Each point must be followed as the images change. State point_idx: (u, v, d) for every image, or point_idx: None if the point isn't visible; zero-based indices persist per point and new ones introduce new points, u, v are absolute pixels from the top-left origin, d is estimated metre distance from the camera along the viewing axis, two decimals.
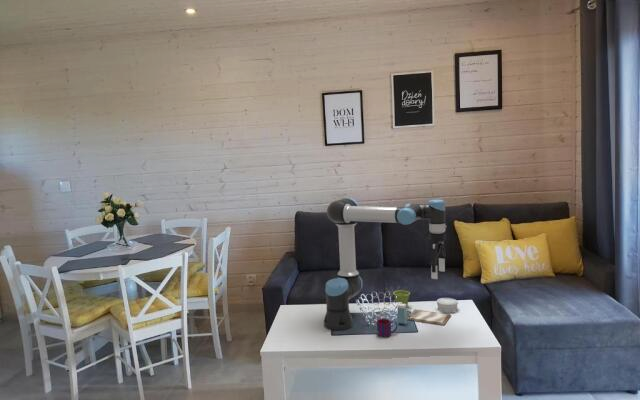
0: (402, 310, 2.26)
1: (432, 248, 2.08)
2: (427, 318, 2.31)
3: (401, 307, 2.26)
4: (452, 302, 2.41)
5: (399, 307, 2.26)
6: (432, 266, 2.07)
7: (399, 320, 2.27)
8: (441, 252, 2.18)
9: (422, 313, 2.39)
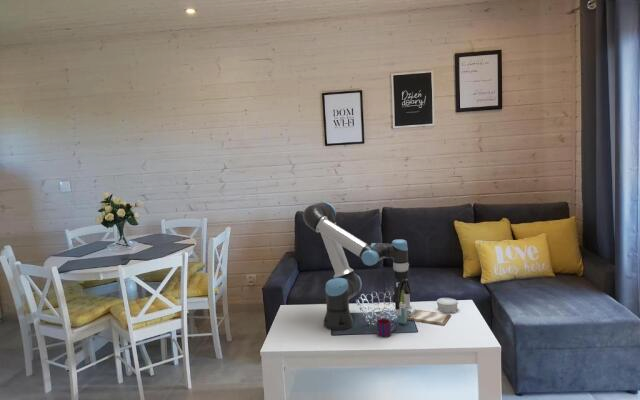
0: (402, 310, 2.26)
1: (395, 286, 2.20)
2: (427, 318, 2.31)
3: (401, 307, 2.26)
4: (452, 302, 2.41)
5: None
6: (396, 303, 2.20)
7: (399, 320, 2.27)
8: (406, 288, 2.30)
9: (422, 313, 2.39)
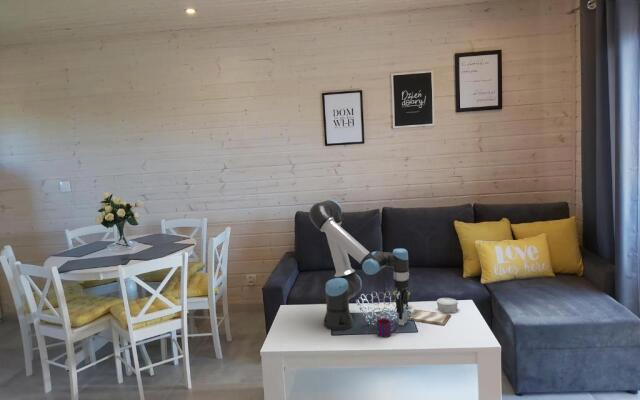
0: None
1: (396, 298, 2.22)
2: (427, 318, 2.31)
3: None
4: (452, 302, 2.41)
5: None
6: (399, 313, 2.25)
7: None
8: (404, 301, 2.28)
9: (422, 313, 2.39)
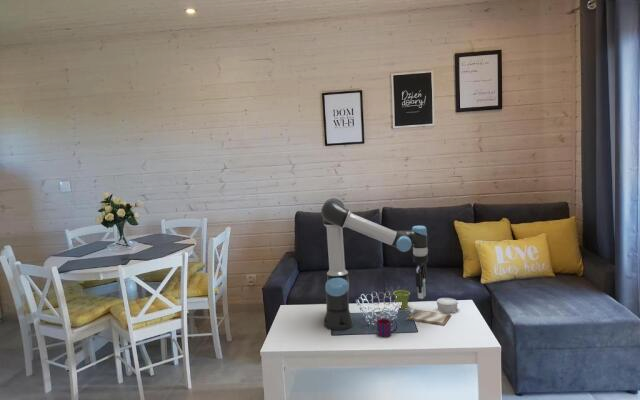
0: None
1: (416, 273, 2.33)
2: (427, 318, 2.31)
3: None
4: (452, 302, 2.41)
5: None
6: (418, 287, 2.36)
7: None
8: (423, 275, 2.39)
9: (422, 313, 2.39)
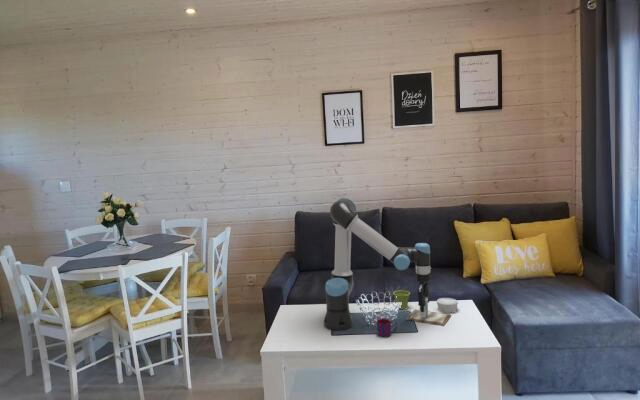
0: None
1: (419, 291, 2.27)
2: (427, 318, 2.31)
3: None
4: (452, 302, 2.41)
5: None
6: (421, 306, 2.30)
7: None
8: (425, 294, 2.34)
9: None
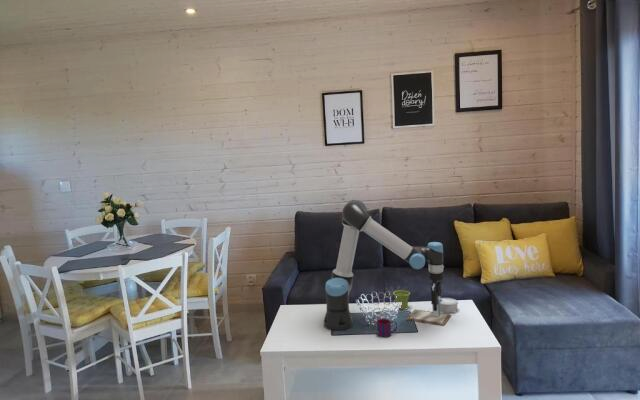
0: None
1: (432, 290, 2.28)
2: (427, 318, 2.31)
3: None
4: (452, 302, 2.41)
5: None
6: (434, 305, 2.31)
7: None
8: (438, 293, 2.35)
9: (422, 313, 2.39)
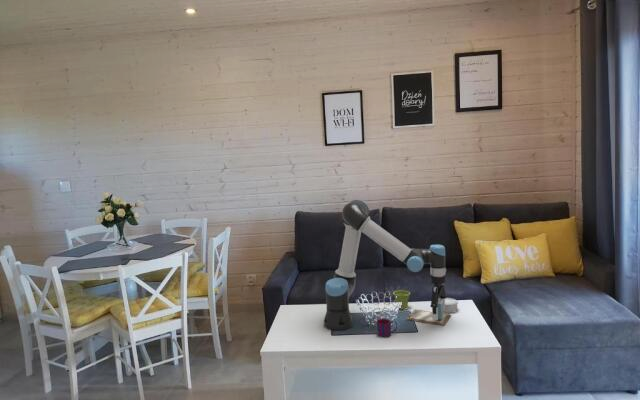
0: (439, 306, 2.27)
1: (433, 291, 2.22)
2: (427, 318, 2.31)
3: (438, 303, 2.27)
4: (452, 302, 2.41)
5: None
6: (433, 308, 2.21)
7: None
8: (441, 293, 2.31)
9: (422, 313, 2.39)
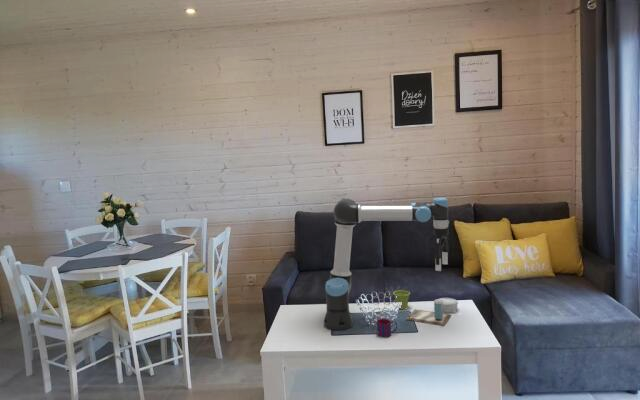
0: (439, 306, 2.27)
1: (436, 242, 2.26)
2: (427, 318, 2.31)
3: (438, 303, 2.27)
4: (452, 302, 2.41)
5: (436, 303, 2.27)
6: (436, 259, 2.25)
7: (435, 316, 2.28)
8: (444, 246, 2.35)
9: (422, 313, 2.39)
